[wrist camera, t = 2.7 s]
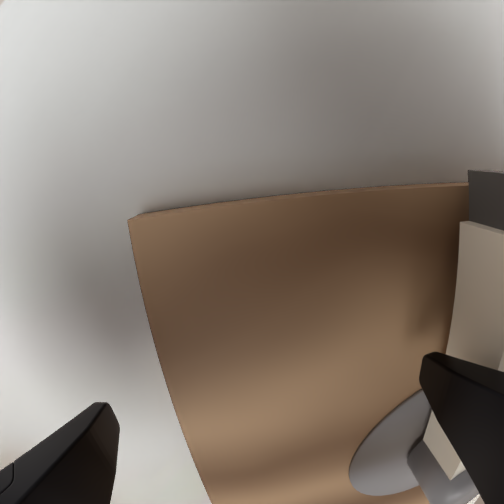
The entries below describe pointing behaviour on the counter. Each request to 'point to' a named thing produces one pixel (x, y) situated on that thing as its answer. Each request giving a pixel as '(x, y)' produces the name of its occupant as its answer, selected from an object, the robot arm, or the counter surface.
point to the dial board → (303, 335)
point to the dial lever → (469, 330)
